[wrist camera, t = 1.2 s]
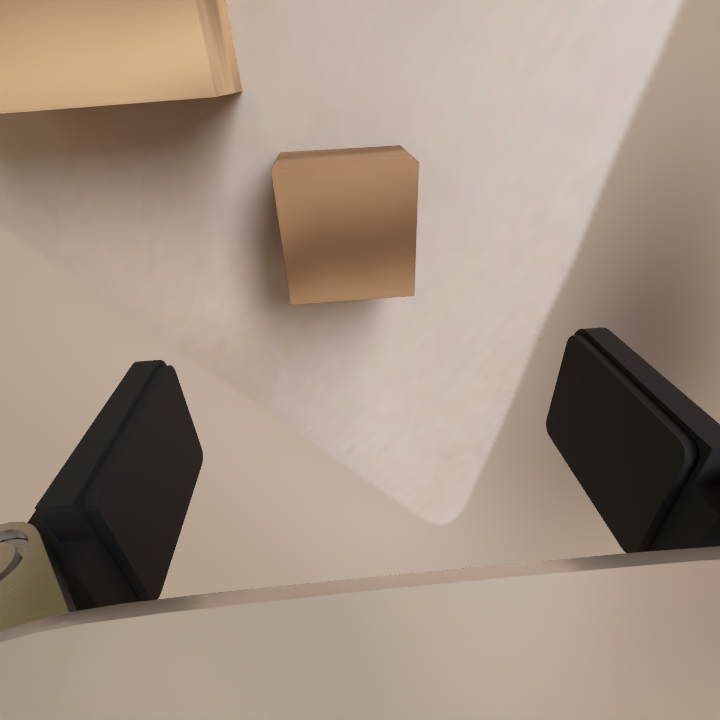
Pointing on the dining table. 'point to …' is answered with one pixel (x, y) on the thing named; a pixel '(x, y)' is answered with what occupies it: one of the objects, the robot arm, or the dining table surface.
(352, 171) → the walnut block
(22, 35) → the oak base
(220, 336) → the dining table surface
